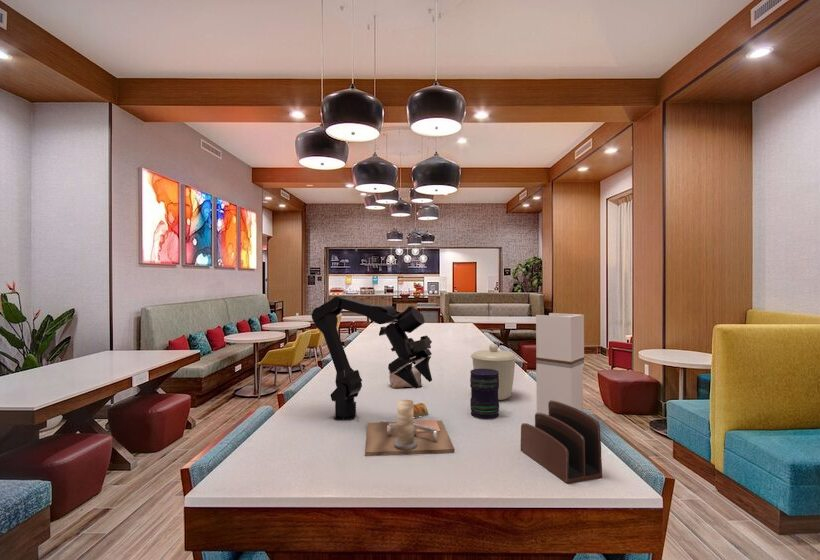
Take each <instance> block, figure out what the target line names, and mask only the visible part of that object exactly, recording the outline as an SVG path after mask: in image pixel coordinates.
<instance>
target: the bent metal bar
mask: <svg viewBox="0 0 820 560" xmlns="http://www.w3.org/2000/svg"><path fill="white" fill-rule="evenodd" d="M391 428H398V423H390V424H389V425H387V437H391ZM416 429H420V430H423V431H427V432H431V433H433V442H434V443H436V442H437V431H436V429H435V428H431V427H427V426H423V425H420V424H416V423H415V424H414V423H413V432H414V437H415V436H416Z"/></svg>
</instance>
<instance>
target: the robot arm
mask: <svg viewBox="0 0 820 560" xmlns="http://www.w3.org/2000/svg"><path fill="white" fill-rule="evenodd" d="M343 310H344V311H347V312H351V313H355V314H359V315H361V316H365V317H366V318H367V319H369V320H370V321H371V322H373V323H375V324H377V325H384V324H385V325H386V324H387V325H386V326H380V329H379V331H378V332H379V333H378V336H380V337H382V336H386V338H387V339H388V341H389V343H390V344H391V347H392V348H390V350H391V352H395V354H396V356H397V358H395V359H394V360H392V361H391V362H389V363H388V366H387V370H388V371H389V372H390V373H391V374H392V373H394V372H396V371H397V372H396V373H394V375H397V376H398V377H400V378H401V379H403V380H405V381H406V382H407V383H409V384H410V385H411V386H413V387H414V388H413V389H418V388H420V387H419V386H418V383H417V381H416V378H415V376H414V374H413V372H412V367H415V368H416V369H417V370H418V371H419V372H420V373H421V376H423V378H424V379H425V380H427V381H428V382H429V383H430V382H432V381H433V378H432V373H431V369H430V359H431V358H432V352H431V350H430V349H432V345H431V344H432V342H433V341H432V340H431V338H430V337H429V335H426V334H425V335H424V336H422V335H421V336H420V339H418V340H414V339H413V337H409V336H408V335H407V333H409V334H410V333H413V332H414V331H415V330H417V329H418V328H419V327H421V326H422V325H424V324H425V322H426V321H425V317H424V316H423V313H421V312H420V310H417V309H416V308H415V306H414V305H410V306H408V307H407V308H406V309H404V311H402V312H401V311H398V310H396V308H395V306H392V305H388V304H371V303H367V302H365V301H360V300H357V299H354V298H350V297H347V296H344V295H339V296H337V295H336V296H334V297H333V298H331V299H330V300H329V301H327V302H325V303H323V304H322V305H319V306H317V307H315V308H314V309H313V310H312V313H311V319H312V321H313V323H314V324H313V325H315V327H316V328H317V329H318V331H319V332H321V333H322V334H323V337H324V338H323V339H324V341H325V343H326V345H327V346H326V347H327V349H328V352H329V355H330V357H331V360H332V363H333V366H334V369H335V371H336V375H335V386H336V388H335V389H334V390H333V391H332V392H331V393H330V395H329V396H330V399H331V402H334V403H335V405H334V408H335V411H334V420H335V421H336V420H354V419H355V417H356V414H357V401H355V398H356V397H358V395H359V392H360V391H361V390H362V387H363V384H362V382H363V379H362V378H361V375H360V371H359V370H358V369H356V370H354V369H353V368H352V367H351V365H350V363H349V358H348V357H347V354H346V352H345V348H344V346H343V343H342V340H341V338H340V335H339V332H338V329H337V326H338V315H340V314H341V313H342V311H343ZM393 322H394V323H393Z"/></svg>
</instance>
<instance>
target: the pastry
mask: <svg viewBox="0 0 820 560" xmlns="http://www.w3.org/2000/svg"><path fill="white" fill-rule="evenodd" d="M428 414H429V410H428V408H427V405H426V404H425V403H423V402H418V403H415V404H414V403H413V417H418V418H420V417H419V416H422V417H425V416H424V415H426V416H428Z"/></svg>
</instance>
